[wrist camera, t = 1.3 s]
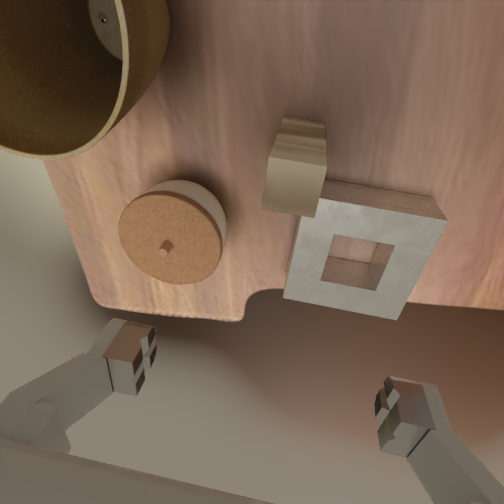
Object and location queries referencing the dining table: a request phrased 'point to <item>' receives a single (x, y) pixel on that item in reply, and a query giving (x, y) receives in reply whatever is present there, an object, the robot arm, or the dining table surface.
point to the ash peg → (296, 168)
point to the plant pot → (74, 70)
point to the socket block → (367, 228)
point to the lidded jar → (174, 232)
